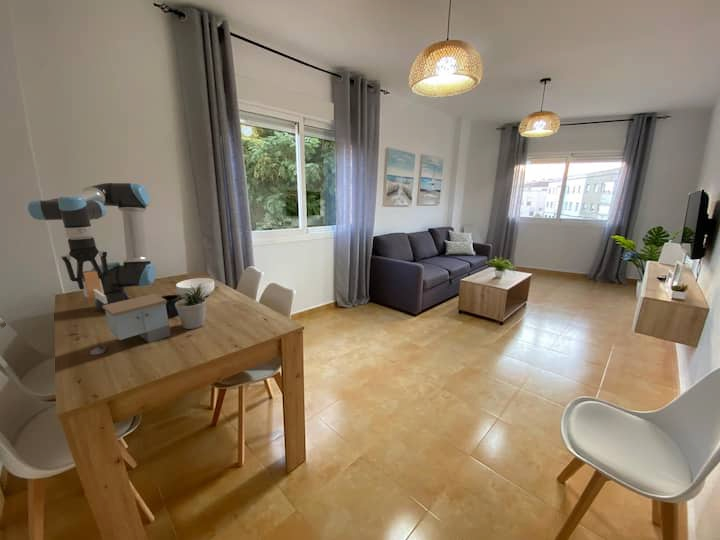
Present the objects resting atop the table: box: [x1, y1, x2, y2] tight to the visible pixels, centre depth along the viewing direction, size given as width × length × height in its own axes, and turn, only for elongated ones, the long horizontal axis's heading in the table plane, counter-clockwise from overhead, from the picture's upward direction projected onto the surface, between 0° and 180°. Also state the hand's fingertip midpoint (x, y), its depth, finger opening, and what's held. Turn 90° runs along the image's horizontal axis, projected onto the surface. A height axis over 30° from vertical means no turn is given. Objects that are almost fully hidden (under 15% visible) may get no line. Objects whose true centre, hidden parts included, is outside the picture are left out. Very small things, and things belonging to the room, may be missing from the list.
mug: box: [161, 294, 180, 319], centre depth 146 cm, size 9×12×9 cm
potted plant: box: [175, 284, 208, 330], centre depth 134 cm, size 13×14×20 cm
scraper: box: [82, 269, 108, 304], centre depth 115 cm, size 16×4×10 cm, turn 54°
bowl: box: [175, 277, 215, 299], centre depth 174 cm, size 20×20×8 cm
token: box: [89, 346, 107, 356], centre depth 113 cm, size 4×4×1 cm
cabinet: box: [102, 293, 171, 344], centre depth 121 cm, size 14×18×16 cm
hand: (94, 294), depth 120 cm, fingers closed on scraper, 4 cm apart
